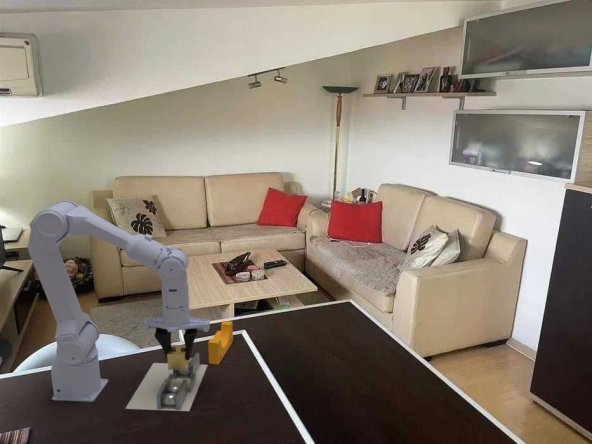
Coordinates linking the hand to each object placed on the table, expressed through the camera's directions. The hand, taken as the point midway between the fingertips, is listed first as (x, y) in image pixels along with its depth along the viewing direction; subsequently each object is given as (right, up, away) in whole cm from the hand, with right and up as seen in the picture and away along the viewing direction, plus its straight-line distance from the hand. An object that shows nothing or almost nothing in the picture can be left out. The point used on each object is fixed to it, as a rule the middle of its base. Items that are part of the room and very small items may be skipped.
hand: (178, 357), depth 105 cm
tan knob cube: (0, -2, 0) cm, 2 cm away
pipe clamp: (+6, -4, +17) cm, 19 cm away
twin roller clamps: (0, -7, +2) cm, 7 cm away
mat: (-3, -7, +2) cm, 8 cm away
